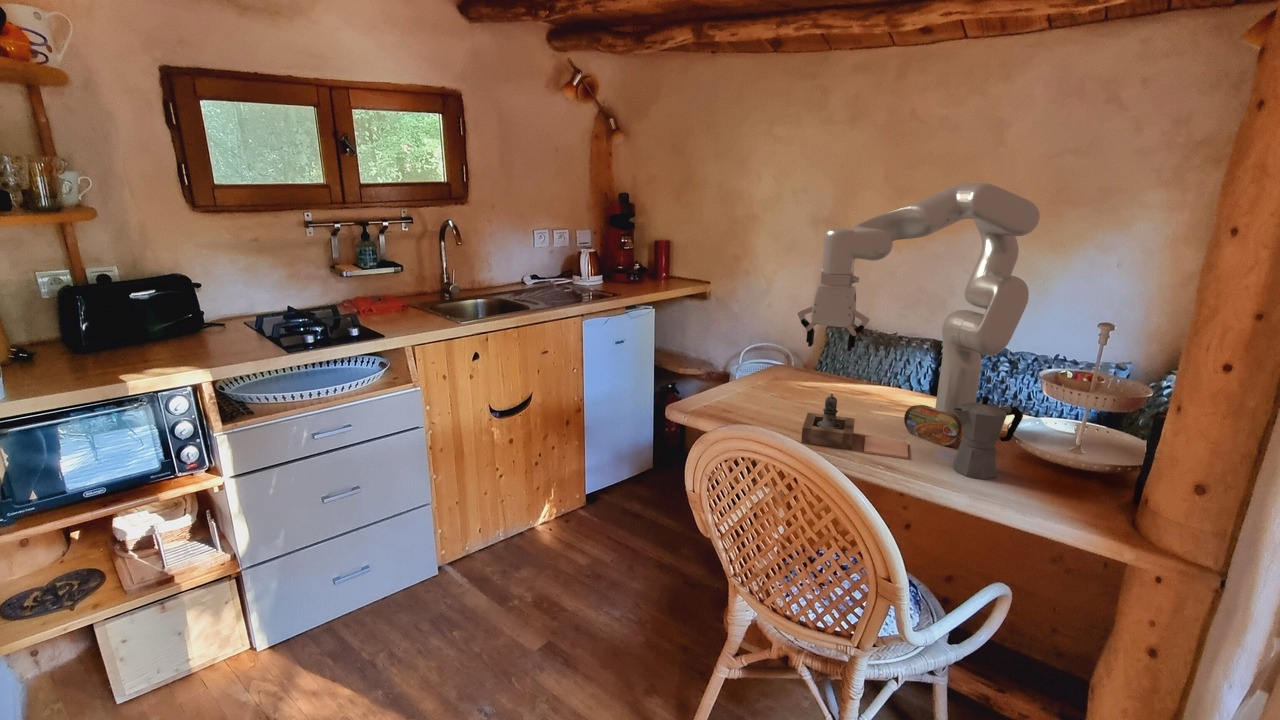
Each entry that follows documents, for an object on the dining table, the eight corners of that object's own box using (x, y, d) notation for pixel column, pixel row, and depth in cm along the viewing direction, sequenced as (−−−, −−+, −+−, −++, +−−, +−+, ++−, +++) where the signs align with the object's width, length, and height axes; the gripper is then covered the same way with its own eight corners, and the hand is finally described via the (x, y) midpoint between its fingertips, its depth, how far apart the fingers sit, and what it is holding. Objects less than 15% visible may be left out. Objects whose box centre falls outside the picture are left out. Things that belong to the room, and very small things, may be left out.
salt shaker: (811, 435, 168) (815, 391, 164) (830, 432, 170) (834, 388, 166) (825, 443, 162) (829, 398, 159) (844, 440, 164) (849, 395, 161)
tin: (901, 431, 171) (905, 401, 169) (908, 429, 173) (912, 399, 170) (955, 450, 159) (960, 418, 157) (962, 448, 161) (967, 416, 158)
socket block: (853, 432, 169) (854, 418, 168) (851, 449, 158) (852, 434, 157) (806, 426, 173) (807, 412, 172) (801, 442, 162) (802, 427, 161)
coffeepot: (954, 479, 143) (966, 402, 138) (936, 461, 152) (946, 389, 147) (1024, 480, 143) (1038, 403, 138) (1001, 463, 152) (1014, 390, 147)
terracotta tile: (906, 444, 162) (907, 441, 162) (907, 459, 153) (908, 456, 153) (864, 438, 166) (865, 436, 165) (863, 452, 157) (863, 450, 156)
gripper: (875, 281, 158) (867, 349, 162) (804, 275, 165) (798, 340, 169) (871, 284, 151) (863, 355, 155) (797, 279, 158) (792, 346, 163)
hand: (829, 347), depth 162 cm, fingers open, 9 cm apart
